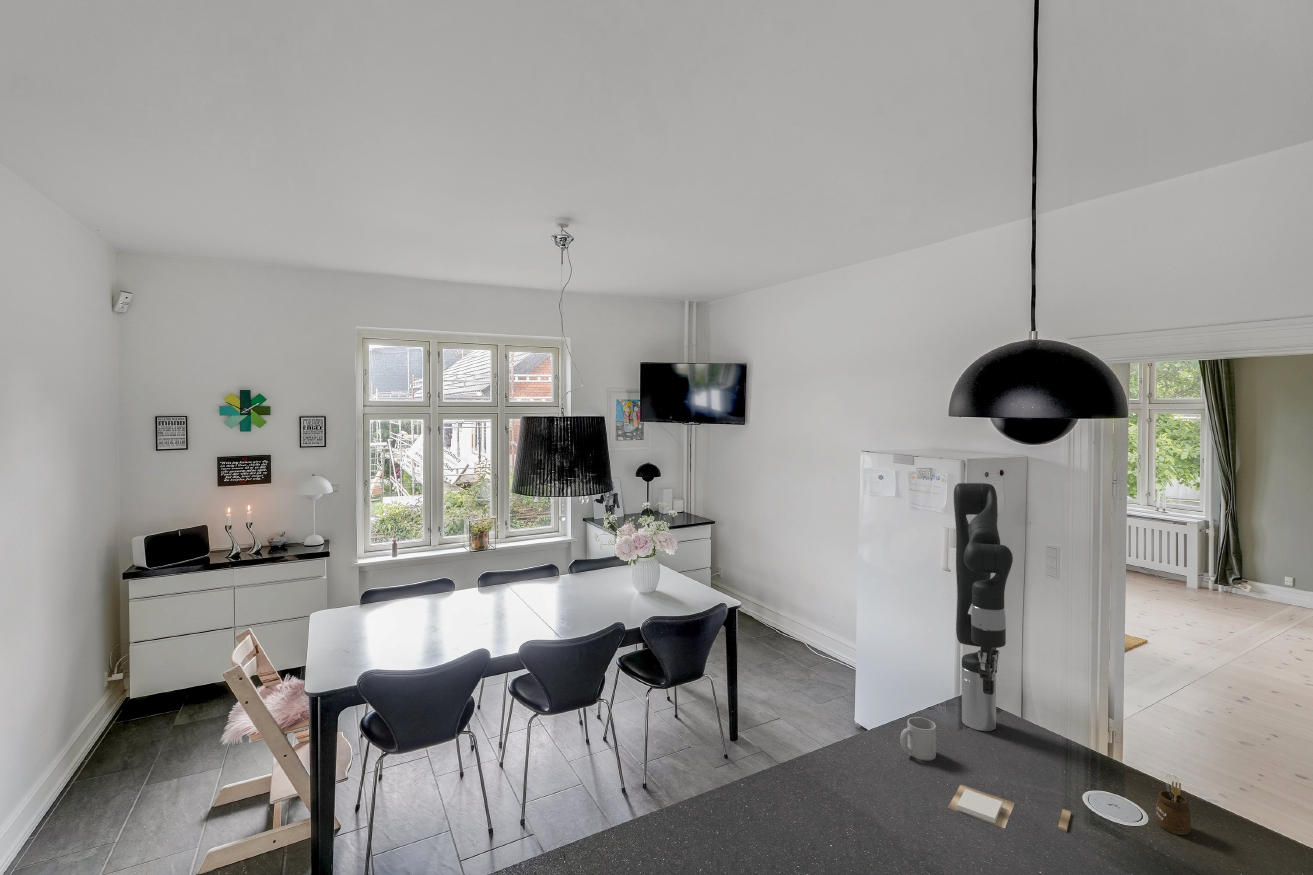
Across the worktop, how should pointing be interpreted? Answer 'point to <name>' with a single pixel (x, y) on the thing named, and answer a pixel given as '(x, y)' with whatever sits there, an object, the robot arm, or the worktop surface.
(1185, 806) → the utensil holder
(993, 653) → the robot arm
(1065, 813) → the tan tapered flat part
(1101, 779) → the worktop surface
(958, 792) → the board
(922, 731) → the cup
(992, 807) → the tile
